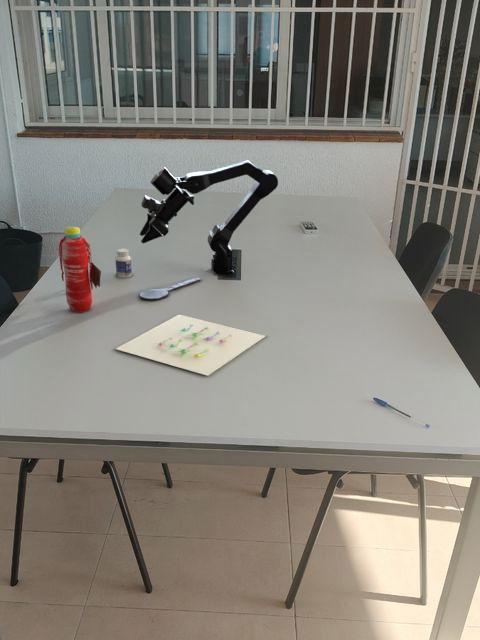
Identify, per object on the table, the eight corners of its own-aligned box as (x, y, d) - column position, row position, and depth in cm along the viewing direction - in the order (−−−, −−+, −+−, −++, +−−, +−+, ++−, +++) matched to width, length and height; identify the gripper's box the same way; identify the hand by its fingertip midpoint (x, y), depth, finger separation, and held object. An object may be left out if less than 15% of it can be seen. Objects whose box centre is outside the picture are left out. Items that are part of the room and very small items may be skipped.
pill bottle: (129, 278, 241) (127, 253, 237) (114, 277, 242) (112, 251, 237) (133, 273, 246) (132, 248, 241) (119, 272, 246) (117, 247, 242)
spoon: (190, 277, 243) (190, 275, 242) (207, 282, 238) (207, 280, 238) (134, 296, 226) (134, 294, 225) (152, 302, 221) (151, 300, 221)
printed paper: (207, 376, 176) (207, 371, 176) (115, 350, 190) (114, 345, 189) (265, 337, 198) (266, 332, 198) (179, 315, 212) (178, 310, 211)
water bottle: (105, 304, 220) (99, 223, 207) (104, 313, 213) (96, 230, 200) (66, 304, 219) (57, 224, 206) (63, 314, 212) (54, 231, 199)
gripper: (153, 181, 238) (122, 215, 243) (157, 193, 223) (124, 229, 227) (176, 204, 244) (146, 237, 248) (182, 218, 228) (149, 252, 232)
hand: (141, 238), depth 238 cm, fingers open, 9 cm apart
